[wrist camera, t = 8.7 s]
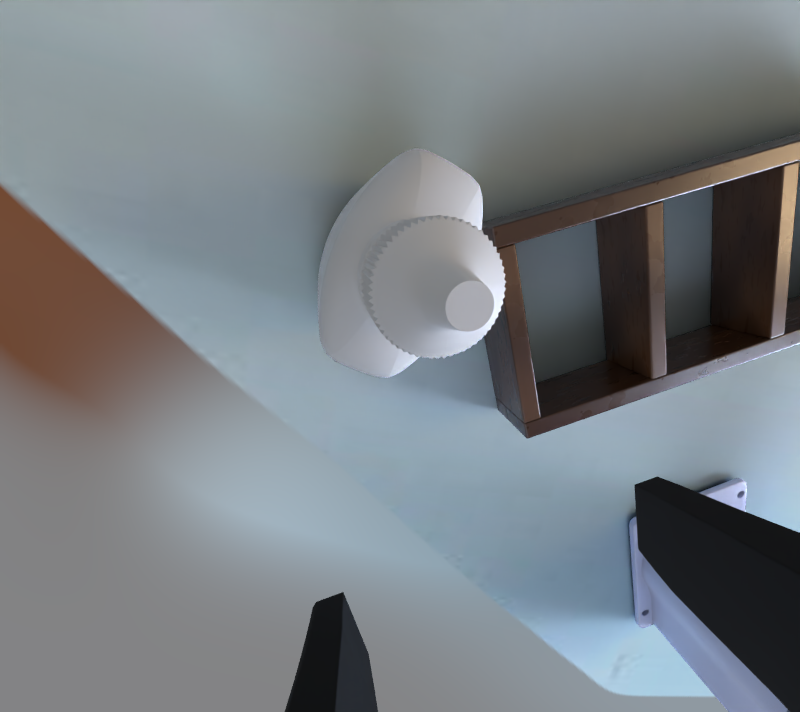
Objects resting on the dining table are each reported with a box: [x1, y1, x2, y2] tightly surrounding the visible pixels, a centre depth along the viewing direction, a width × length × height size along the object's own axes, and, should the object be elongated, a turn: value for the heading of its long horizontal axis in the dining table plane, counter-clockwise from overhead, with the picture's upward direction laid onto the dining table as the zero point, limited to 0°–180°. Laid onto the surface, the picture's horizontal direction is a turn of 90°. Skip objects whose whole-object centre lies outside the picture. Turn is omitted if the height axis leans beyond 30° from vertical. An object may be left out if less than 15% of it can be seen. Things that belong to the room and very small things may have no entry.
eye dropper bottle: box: [318, 148, 506, 378], centre depth 11 cm, size 4×6×12 cm
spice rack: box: [482, 133, 800, 438], centre depth 18 cm, size 9×19×3 cm, turn 105°
